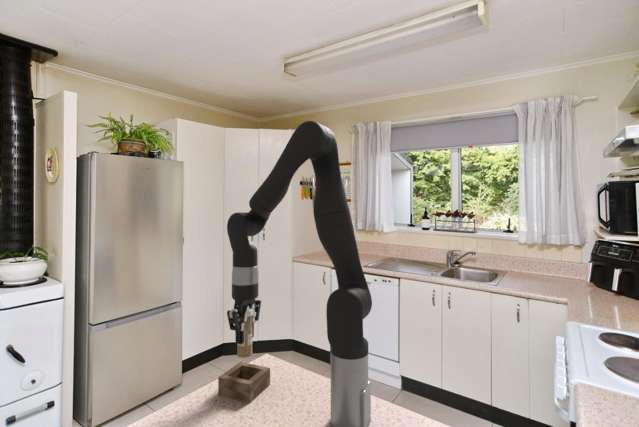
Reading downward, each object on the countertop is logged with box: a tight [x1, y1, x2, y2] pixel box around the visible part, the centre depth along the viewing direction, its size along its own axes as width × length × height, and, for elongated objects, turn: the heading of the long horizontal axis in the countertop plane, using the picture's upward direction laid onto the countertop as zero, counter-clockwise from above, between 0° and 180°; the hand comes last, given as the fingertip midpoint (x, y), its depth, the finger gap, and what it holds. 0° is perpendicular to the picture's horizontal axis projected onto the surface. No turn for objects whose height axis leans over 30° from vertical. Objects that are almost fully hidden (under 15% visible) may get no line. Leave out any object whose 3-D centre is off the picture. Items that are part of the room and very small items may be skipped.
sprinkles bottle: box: [236, 309, 253, 359], centre depth 97 cm, size 5×5×14 cm
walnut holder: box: [217, 361, 271, 404], centre depth 97 cm, size 10×10×5 cm
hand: (244, 340), depth 97 cm, fingers closed on sprinkles bottle, 4 cm apart
